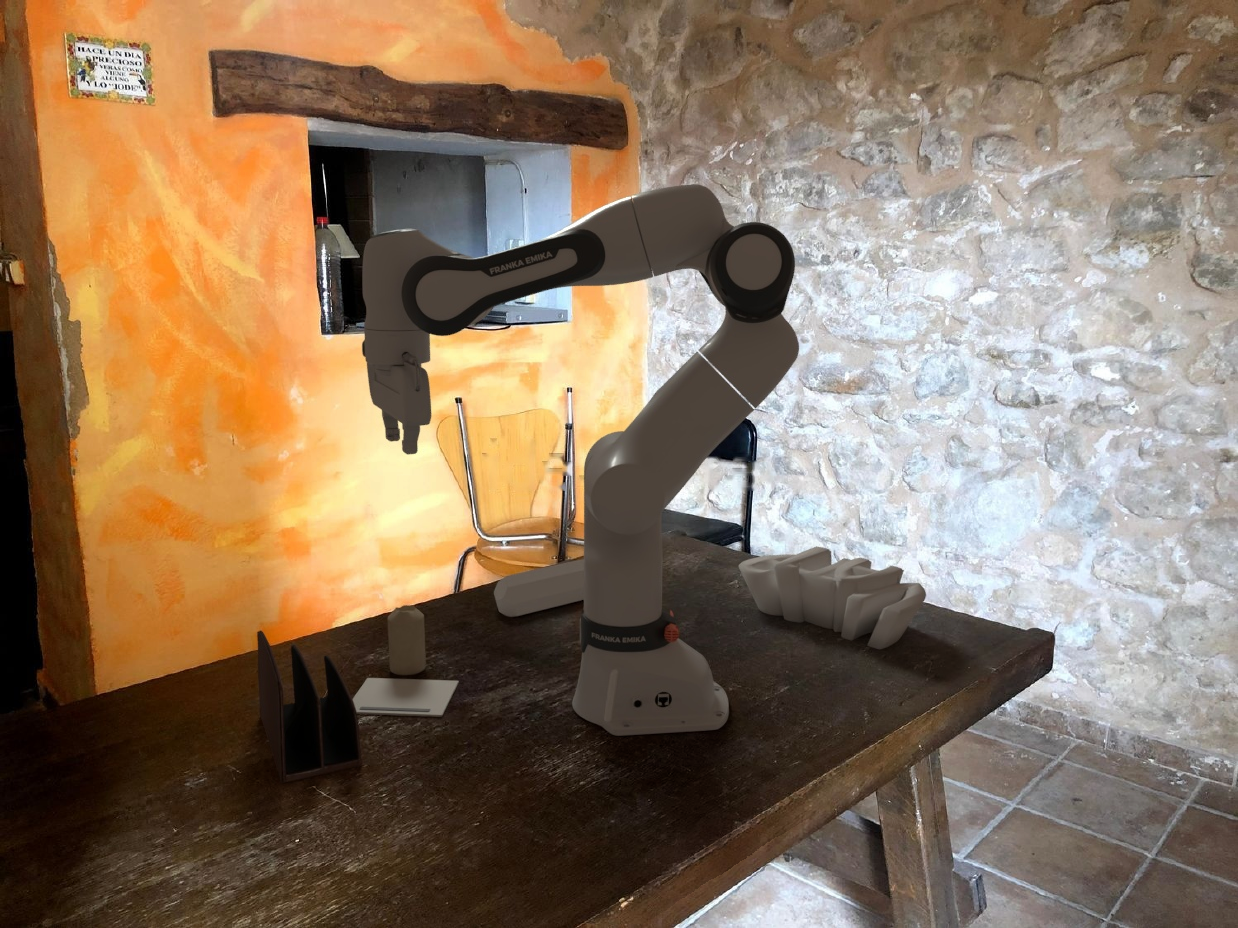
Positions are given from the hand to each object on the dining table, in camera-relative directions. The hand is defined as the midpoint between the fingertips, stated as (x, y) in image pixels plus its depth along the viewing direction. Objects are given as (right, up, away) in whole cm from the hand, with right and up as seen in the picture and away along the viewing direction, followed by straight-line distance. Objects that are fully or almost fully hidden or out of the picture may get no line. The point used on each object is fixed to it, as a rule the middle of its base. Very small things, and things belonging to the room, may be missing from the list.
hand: (401, 446), depth 140 cm
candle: (-2, -35, +14) cm, 37 cm away
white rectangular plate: (-1, -37, +4) cm, 37 cm away
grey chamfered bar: (+19, -28, +43) cm, 55 cm away
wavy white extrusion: (+69, -31, +35) cm, 83 cm away
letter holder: (-11, -40, -8) cm, 42 cm away
